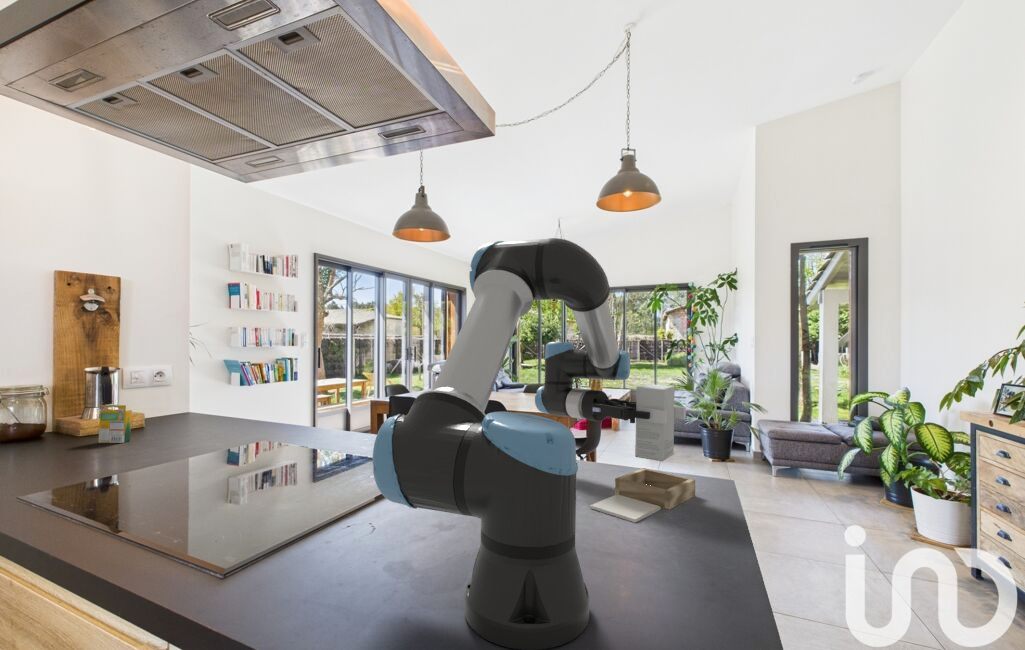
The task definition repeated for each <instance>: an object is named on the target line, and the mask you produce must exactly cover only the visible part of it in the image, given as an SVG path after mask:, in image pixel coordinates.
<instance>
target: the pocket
mask: <svg viewBox="0 0 1025 650" xmlns="http://www.w3.org/2000/svg"><path fill="white" fill-rule="evenodd" d="M614 481H615V482H614V484H615V485H614V486H615V487H614V495H615V494H616V495H617V494H618V495H621V496H625V497H629V498H632V499H636V500H639V501H643V502H647V503H650V504H654V505H657V506H661V508H662V509H665V510H671V509H674V508H675V507H676V506H678V505H680V504H682V502H683V503H684V501H685V502H686V501H688V500H690V499H692V498H694V497H696V479H694V478H689V477H686V476H681V475H677V474H673V473H667V472H662V471H659V470H653V469H649V468H646V467H645V468H644V467H643V468H639V469H637V470H634V471H632V472H629V473H626V474H624V475H620V476H618V477H615V478H614ZM646 484H647V485H646ZM650 485H651V486H650ZM693 496H694V497H693ZM691 497H692V498H691ZM689 498H690V499H689Z"/></svg>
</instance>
